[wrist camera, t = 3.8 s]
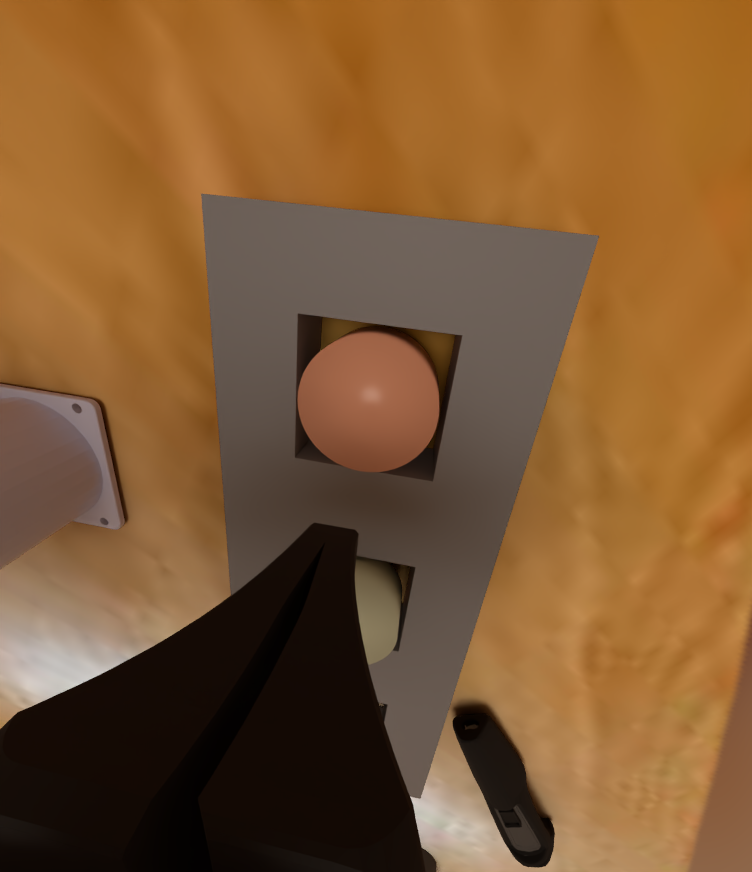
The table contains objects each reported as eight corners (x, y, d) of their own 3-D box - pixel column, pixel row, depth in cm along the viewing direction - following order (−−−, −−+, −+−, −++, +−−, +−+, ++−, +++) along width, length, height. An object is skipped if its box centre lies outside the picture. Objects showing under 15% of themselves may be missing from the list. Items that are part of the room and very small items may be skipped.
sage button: (302, 611, 20) (286, 653, 17) (305, 537, 18) (287, 574, 15) (395, 630, 19) (390, 676, 17) (409, 556, 17) (405, 597, 15)
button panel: (261, 706, 27) (242, 754, 25) (246, 209, 14) (201, 193, 12) (421, 744, 26) (420, 798, 24) (565, 244, 13) (599, 235, 10)
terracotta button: (314, 435, 16) (296, 460, 14) (320, 318, 14) (299, 325, 12) (427, 454, 16) (426, 482, 14) (449, 335, 14) (452, 347, 12)
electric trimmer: (495, 686, 24) (503, 743, 21) (554, 821, 28) (567, 883, 25) (439, 692, 25) (439, 747, 22) (505, 821, 29) (512, 880, 26)
